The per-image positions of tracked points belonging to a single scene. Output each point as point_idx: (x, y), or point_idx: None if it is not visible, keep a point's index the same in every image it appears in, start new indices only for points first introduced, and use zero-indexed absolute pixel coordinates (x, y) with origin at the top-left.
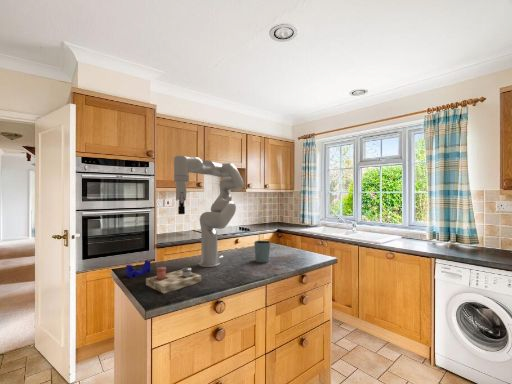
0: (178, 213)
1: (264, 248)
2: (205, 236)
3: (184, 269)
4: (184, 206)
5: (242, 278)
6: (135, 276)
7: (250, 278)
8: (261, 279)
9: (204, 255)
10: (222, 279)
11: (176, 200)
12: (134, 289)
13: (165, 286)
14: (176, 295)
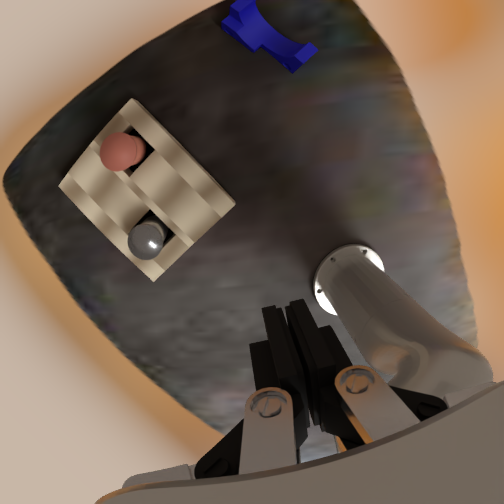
0: (262, 310)
1: (335, 440)
2: (374, 331)
3: (132, 236)
4: (321, 430)
5: (188, 372)
6: (234, 37)
7: (189, 387)
8: (182, 404)
9: (342, 283)
10: (179, 328)
11: (168, 483)
12: (104, 83)
13: (62, 189)
14: (58, 220)
